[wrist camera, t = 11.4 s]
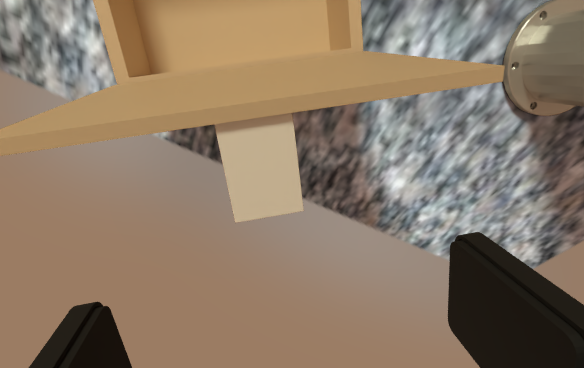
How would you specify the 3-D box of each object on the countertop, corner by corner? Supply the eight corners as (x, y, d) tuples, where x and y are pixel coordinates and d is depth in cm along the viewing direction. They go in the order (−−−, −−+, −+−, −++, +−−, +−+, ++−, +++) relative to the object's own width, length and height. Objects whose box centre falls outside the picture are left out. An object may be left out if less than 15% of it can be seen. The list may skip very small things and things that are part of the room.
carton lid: (504, 65, 13) (489, 182, 15) (366, 51, 28) (367, 111, 30) (-40, 144, 12) (23, 263, 14) (114, 85, 26) (133, 147, 28)
